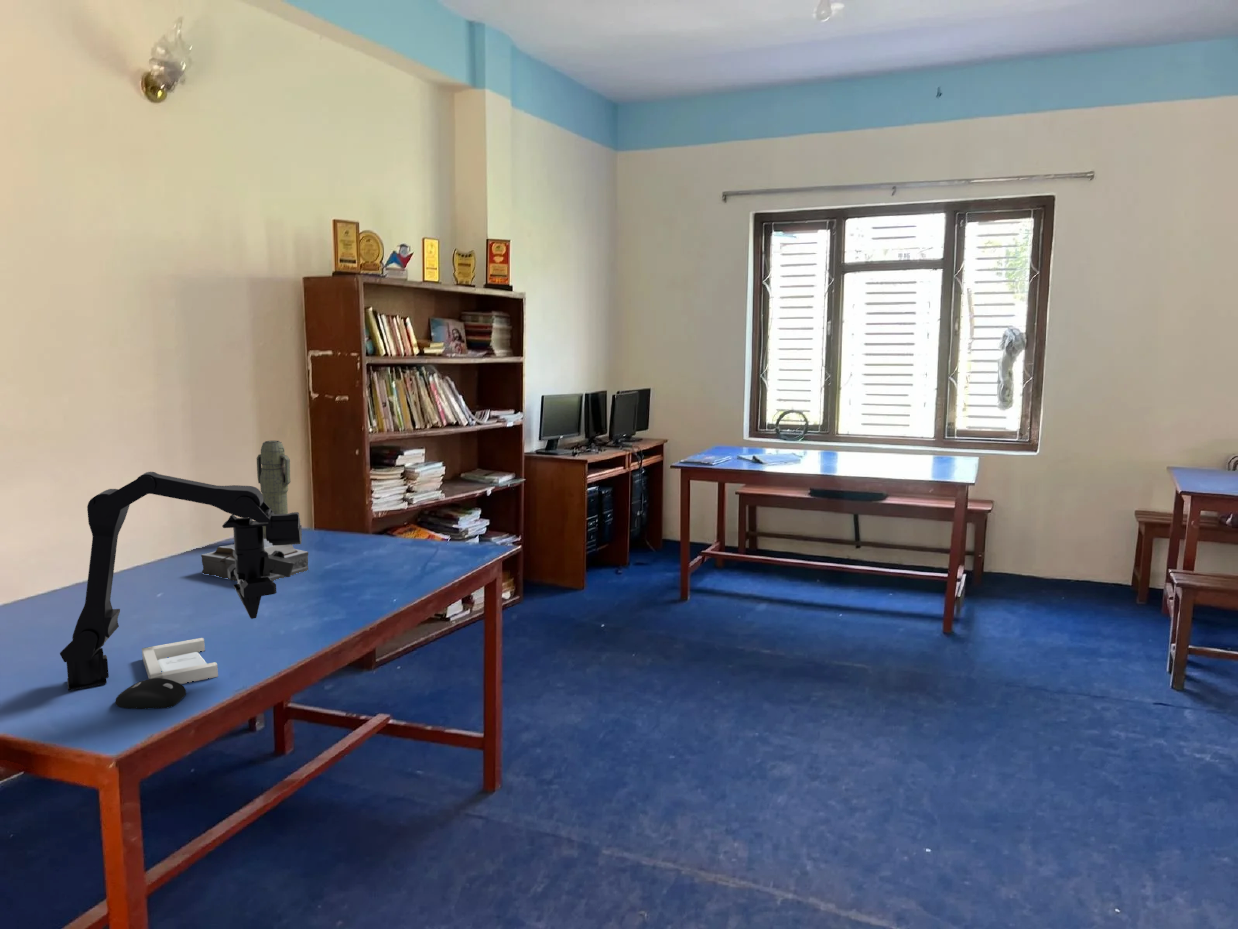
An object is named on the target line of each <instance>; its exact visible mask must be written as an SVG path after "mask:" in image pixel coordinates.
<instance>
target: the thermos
mask: <svg viewBox="0 0 1238 929" xmlns="http://www.w3.org/2000/svg"><path fill="white" fill-rule="evenodd" d="M285 450H286V449H285V447H284V444H283V443H282V441H280V440H265V441H264V442H262V445H261V448H260V453H259V454H258V455H257V457H256V472H257V473H256V474H257V482H258V484H260V492H261V493H262V495H263V501H264V502H265V503H266V504H267V505H268V506H269V507H270V509H271V510H272V511H273V512H274V514H288V511H289V509H288V491H289V485H290V484H291V463H290V462H291V460H290V458H289V456H288V455H286V454H285ZM263 532H264V539H266V526H263Z"/></svg>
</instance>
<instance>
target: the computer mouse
mask: <svg viewBox="0 0 1238 929" xmlns="http://www.w3.org/2000/svg"><path fill="white" fill-rule="evenodd" d="M186 694H187V689H186V688H185V686H184V684H180V683H177V682H175V681H172V680H168V679H163V678H153V679H149V678H147V679H144V680H141V681H139V682H136V683H134V684H133V685H131V686H129V687H128V688H125V689H124V690H122V691H121V692H120V694H118V695H117V697H116V699H115V702H114V704H115V706H116V707H118V708H123V709H132V710H138V709H139V710H142V709H143V710H145V708H146V710H148V708H154V709H168V708H167V707H169V708H172V707H174V706H176V705H177V704H178V703H179V702H181V700H182V699H184V698H185V696H186ZM171 706H172V707H171Z"/></svg>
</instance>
